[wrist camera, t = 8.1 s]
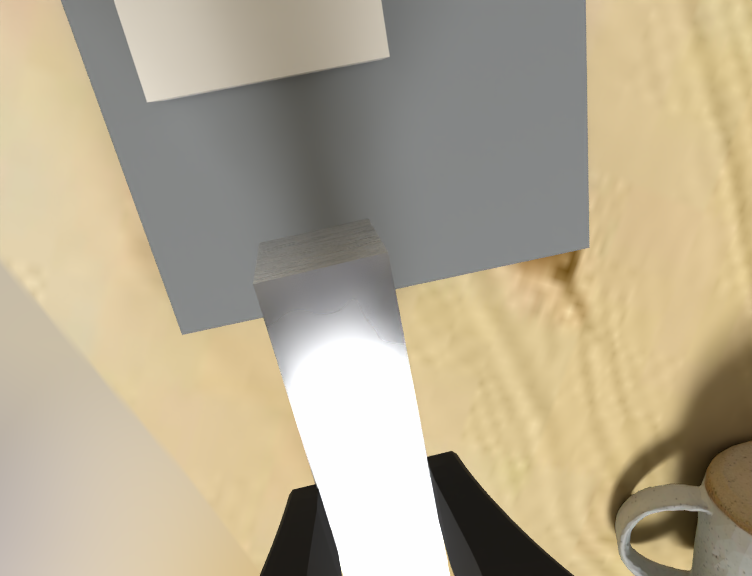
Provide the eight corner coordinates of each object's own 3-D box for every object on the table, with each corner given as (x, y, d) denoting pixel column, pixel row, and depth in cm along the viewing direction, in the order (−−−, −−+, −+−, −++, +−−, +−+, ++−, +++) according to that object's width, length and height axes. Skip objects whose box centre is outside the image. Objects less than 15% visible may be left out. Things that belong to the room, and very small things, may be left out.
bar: (368, 218, 12) (388, 251, 9) (439, 572, 16) (464, 652, 14) (259, 242, 11) (253, 284, 9) (364, 594, 16) (376, 679, 14)
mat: (574, -293, 14) (580, -304, 14) (584, 244, 20) (589, 247, 20) (-8, -203, 13) (-16, -212, 13) (184, 330, 20) (182, 334, 19)
